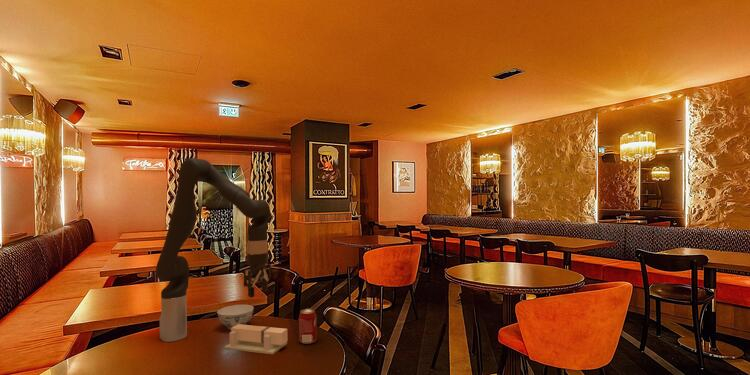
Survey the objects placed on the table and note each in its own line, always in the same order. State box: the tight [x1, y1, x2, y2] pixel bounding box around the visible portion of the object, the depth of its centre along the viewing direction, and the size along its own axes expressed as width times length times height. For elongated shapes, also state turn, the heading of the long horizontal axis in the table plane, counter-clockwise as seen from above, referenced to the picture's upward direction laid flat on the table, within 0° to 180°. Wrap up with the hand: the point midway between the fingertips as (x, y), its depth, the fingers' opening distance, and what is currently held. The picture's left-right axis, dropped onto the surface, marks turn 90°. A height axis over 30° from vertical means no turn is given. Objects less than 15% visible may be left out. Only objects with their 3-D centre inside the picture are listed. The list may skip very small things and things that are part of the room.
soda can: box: [298, 308, 318, 345], centre depth 148 cm, size 7×7×12 cm
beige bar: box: [230, 324, 289, 345], centre depth 144 cm, size 22×4×4 cm, turn 73°
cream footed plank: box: [224, 331, 288, 355], centre depth 145 cm, size 21×10×6 cm, turn 73°
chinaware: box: [216, 304, 254, 331], centre depth 167 cm, size 15×15×8 cm
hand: (258, 294), depth 145 cm, fingers open, 8 cm apart
